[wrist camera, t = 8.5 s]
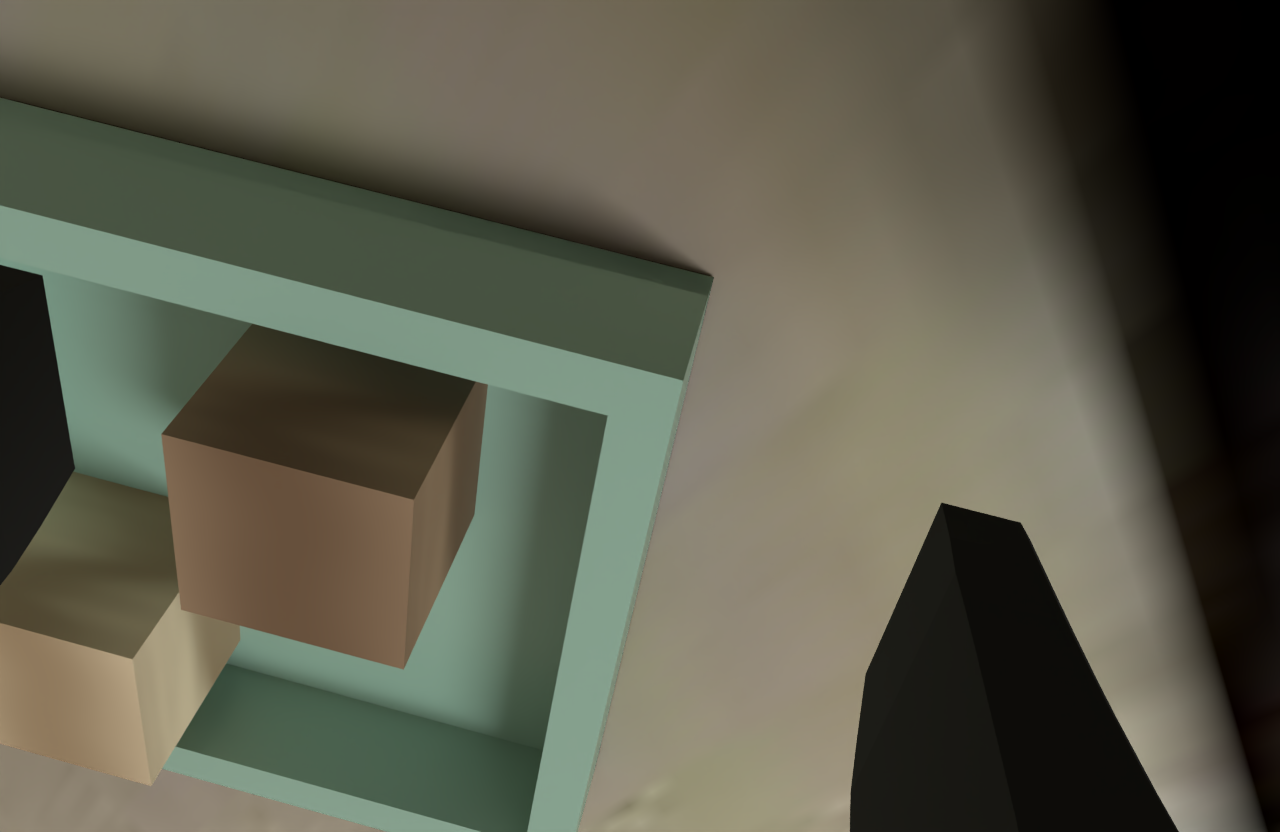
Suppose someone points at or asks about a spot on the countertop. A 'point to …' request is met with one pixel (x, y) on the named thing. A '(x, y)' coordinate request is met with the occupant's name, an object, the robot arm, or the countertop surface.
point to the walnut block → (322, 492)
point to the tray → (406, 332)
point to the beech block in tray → (104, 636)
